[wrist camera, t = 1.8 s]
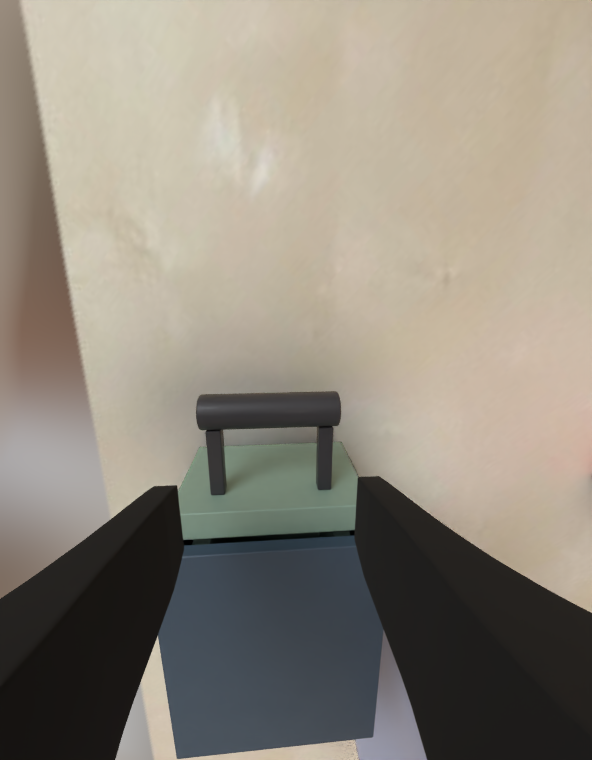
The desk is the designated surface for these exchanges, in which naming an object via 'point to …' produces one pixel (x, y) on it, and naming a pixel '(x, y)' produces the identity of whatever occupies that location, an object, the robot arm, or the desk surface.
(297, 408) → the drawer
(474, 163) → the desk surface
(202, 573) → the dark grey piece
